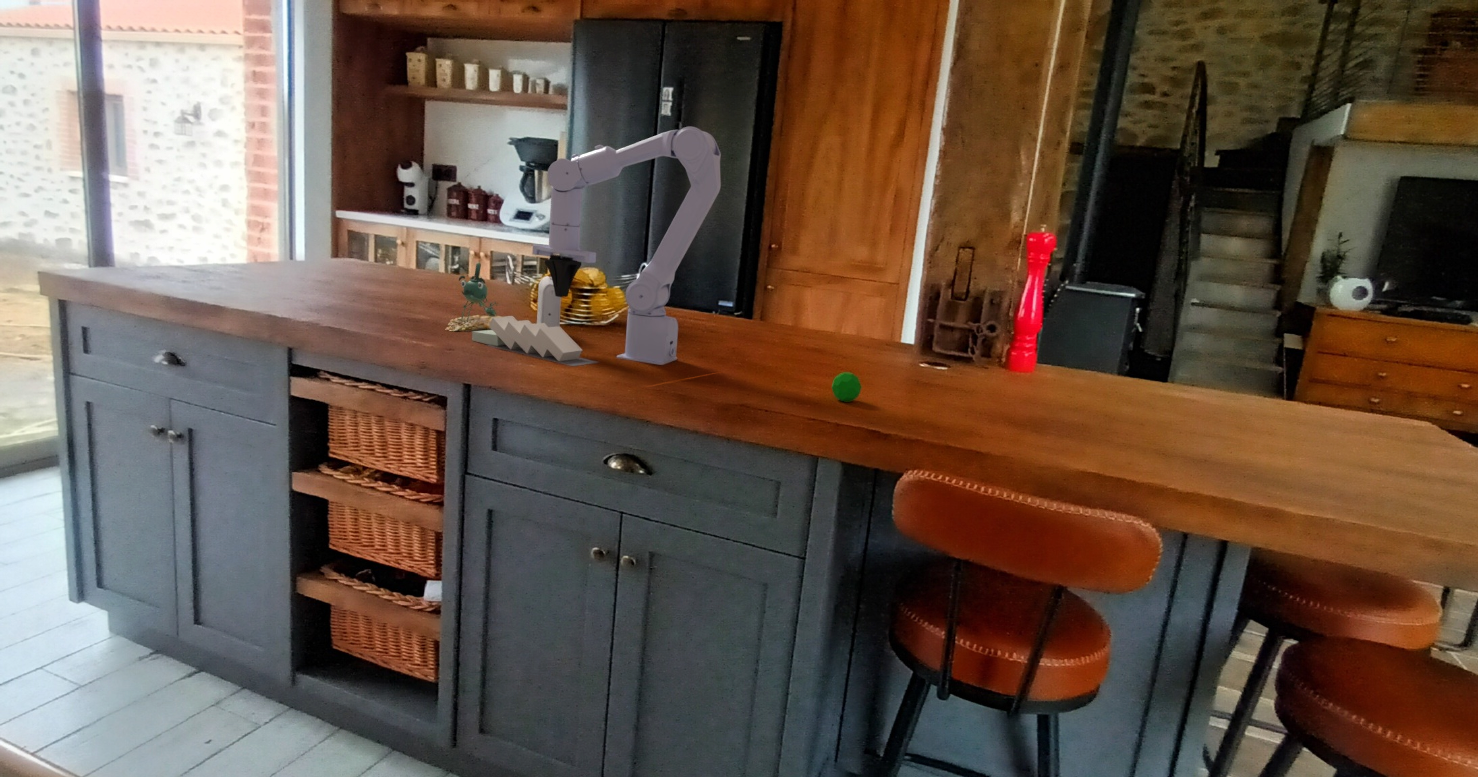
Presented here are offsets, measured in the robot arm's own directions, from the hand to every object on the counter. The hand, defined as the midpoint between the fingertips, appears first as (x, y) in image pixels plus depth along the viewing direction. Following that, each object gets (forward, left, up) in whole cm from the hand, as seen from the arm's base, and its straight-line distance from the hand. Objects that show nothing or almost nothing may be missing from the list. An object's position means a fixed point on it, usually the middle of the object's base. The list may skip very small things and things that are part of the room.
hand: (561, 296), depth 168 cm
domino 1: (+4, +7, -9) cm, 12 cm away
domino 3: (-4, +10, -9) cm, 14 cm away
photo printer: (+9, -11, -10) cm, 18 cm away
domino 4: (-8, +11, -9) cm, 16 cm away
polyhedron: (-58, +6, -10) cm, 59 cm away
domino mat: (-1, +9, -10) cm, 13 cm away
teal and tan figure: (+24, -8, -11) cm, 28 cm away
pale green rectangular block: (+8, +6, -9) cm, 13 cm away
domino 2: (0, +9, -9) cm, 12 cm away
